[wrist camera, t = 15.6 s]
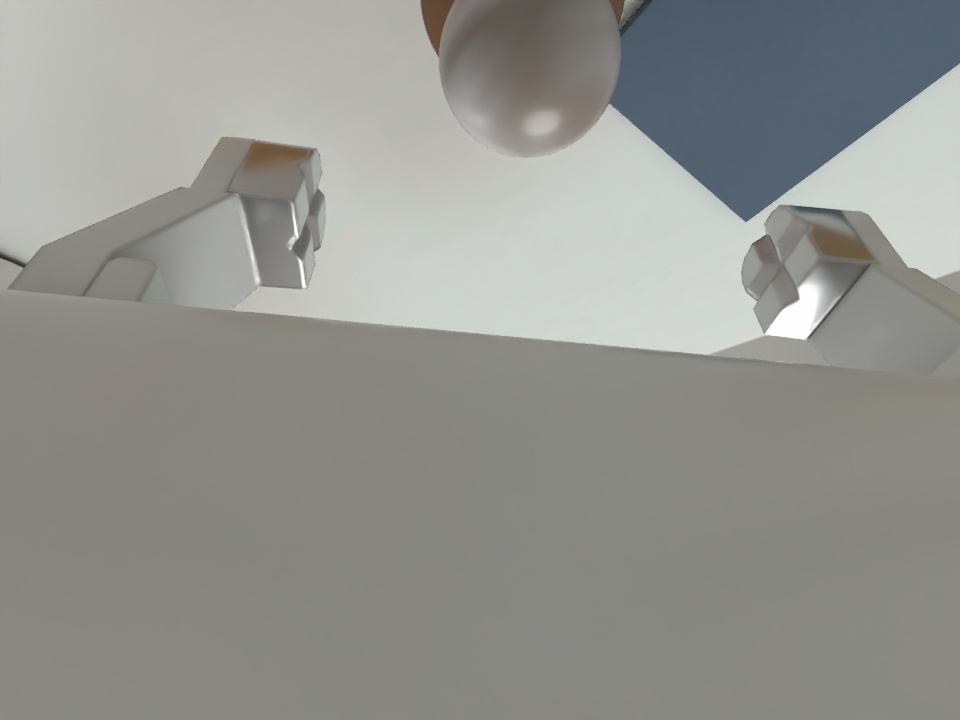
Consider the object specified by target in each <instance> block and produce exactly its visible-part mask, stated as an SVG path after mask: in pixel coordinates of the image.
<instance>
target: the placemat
mask: <svg viewBox="0 0 960 720" xmlns="http://www.w3.org/2000/svg"><path fill="white" fill-rule="evenodd" d="M620 37H621V63H620V71H619V76H618V80H617V84H616V87H615V90H614V92H613V95H612V97H611V100H610V102H609V103H610V104H611V105H612V106H613V107H614V108H616V109H617V110H618V111H619V112H620V113H621V114H622V115H624V116H625V117H626V118H627V119H628V120H629V121H631V122H632V123H633V124H634V125H635V126H636V127H637V128H639V129H640V130H641V131H642V132H643V133H644V134H645V135H647V136H648V137H649V138H650V139H651V140H652V141H653V142H655V143H656V144H657V145H658V146H659V147H660V148H661V149H663V150H664V151H665V152H666V153H667V154H668V155H669V156H671V157H672V158H673V159H674V160H675V161H676V162H678V163H679V164H680V165H681V166H682V167H683V168H684V169H686V170H687V171H688V172H689V173H690V174H691V175H692V176H694V177H695V178H696V179H697V180H698V181H699V182H700V183H702V184H703V185H704V186H705V187H706V188H707V189H708V190H710V191H711V192H712V193H713V194H714V195H715V196H716V197H718V198H719V199H720V200H721V201H722V202H723V203H724V204H726V205H727V206H728V207H729V208H730V209H731V210H733V211H734V212H735V213H736V214H737V215H738V216H739V217H741V218H742V219H743V220H744V221H745V222H747V221H748V220H750V219H751V218H752V217H754V216H755V215H756V214H758V213H759V212H760V211H762V210H763V209H764V208H766V207H767V206H768V205H770V204H771V203H773V202H774V201H775V200H777V199H778V198H779V197H781V196H782V195H783V194H785V193H786V192H787V191H789V190H790V189H791V188H793V187H794V186H795V185H797V184H798V183H799V182H801V181H802V180H803V179H805V178H806V177H807V176H809V175H810V174H812V173H813V172H814V171H816V170H817V169H818V168H820V167H821V166H822V165H824V164H825V163H826V162H828V161H829V160H830V159H832V158H833V157H834V156H836V155H837V154H838V153H840V152H841V151H842V150H844V149H845V148H846V147H848V146H849V145H851V144H852V143H853V142H855V141H856V140H857V139H859V138H860V137H861V136H863V135H864V134H865V133H867V132H868V131H869V130H871V129H872V128H873V127H875V126H876V125H877V124H879V123H880V122H881V121H883V120H884V119H885V118H887V117H888V116H890V115H891V114H892V113H894V112H895V111H896V110H898V109H899V108H900V107H902V106H903V105H904V104H906V103H907V102H908V101H910V100H911V99H912V98H914V97H915V96H916V95H918V94H919V93H920V92H922V91H923V90H925V89H926V88H927V87H929V86H930V85H931V84H933V83H934V82H935V81H937V80H938V79H939V78H941V77H942V76H943V75H945V74H946V73H947V72H949V71H950V70H951V69H953V68H954V67H955V66H957V65H958V64H959V63H960V0H647V1H646V2H645V3H644V4H643V5H642V6H641V8H640V9H639V10H638V11H637V12H636V13H635V14H634V16H633V17H632V18H631V19H630V20H629V21H628V22H627V24H626V25H625V26H624V27H623V28H622V29H621V30H620Z"/></svg>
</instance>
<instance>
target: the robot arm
mask: <svg viewBox="0 0 960 720" xmlns="http://www.w3.org/2000/svg"><path fill="white" fill-rule="evenodd" d="M321 175H322V168H321V160H320V154H319V152H318V149H317V148H310V147H303V146H295V145H288V144H281V143H274V142H267V141H259V140H257V141H256V140H254V139H246V138H236V137H222V138H221V139H220V140H219V142H218V143H217V145H216V146H215V148H214V150H213V151H212V153H211V155H210V156H209V158H208V159H207V161H206V163H205V164H204V166H203V168H202V169H201V171H200V172H199V174H198V176H197V177H196V179H195V181H194V182H193V184H192V185H191V187H190V188H185V187H179V188H177V189H175V190H172V191H170V192H168V193H165V194H163V195H161V196H158V197H156V198H154V199H151V200H149V201H147V202H144V203H142V204H140V205H137V206H135V207H133V208H130V209H128V210H126V211H123V212H121V213H119V214H116V215H114V216H112V217H109V218H107V219H105V220H102V221H100V222H98V223H95V224H93V225H91V226H88V227H86V228H84V229H81V230H79V231H77V232H74V233H72V234H70V235H67V236H65V237H63V238H60V239H58V240H56V241H53V242H51V243H49V244H46V245H44V246H42V247H41V248H40V249H39V250H38V251H37V253H36V254H35V255H34V256H33V258H32V259H31V260H30V261H29V262H28V264H27V265H26V266H25V267H24V268H23V267H21V266H19V265H16V264H14V263H12V262H10V261H7V260H5V259H2V258H0V720H960V295H959V294H957V293H956V292H954V291H952V290H951V289H949V288H947V287H946V286H944V285H942V284H941V283H939V282H937V281H936V280H934V279H932V278H931V277H929V276H927V275H926V274H924V273H922V272H921V271H919V270H917V269H914V268H908V267H907V266H906V264H905V263H904V262H903V260H902V259H901V258H900V256H899V255H898V254H897V252H896V251H895V249H894V248H893V247H892V245H891V244H890V243H889V241H888V240H887V239H886V237H885V236H884V235H883V233H882V232H881V231H880V229H879V228H878V227H877V225H876V224H875V223H874V221H873V220H872V218H871V217H870V216H869V215H868V214H865V213H863V212H861V211H847V210H835V209H825V208H814V207H803V206H792V205H779V206H778V207H777V208H776V209H775V210H774V211H773V212H772V213H771V214H770V216H769V217H768V219H767V220H766V222H765V224H764V225H765V231H766V235H765V236H764V237H762V238H760V239H759V240H757V241H756V242H754V243H753V244H752V245H751V247H750V249H749V251H748V252H747V254H746V256H745V258H744V262H743V267H742V272H741V274H742V283H743V286H744V288H745V291H746V292H747V293H748V294H749V295H750V296H752V297H753V298H754V299H755V300H756V301H757V303H756V305H755V307H754V308H753V309H754V312H755V314H756V316H757V318H758V321H759V323H760V325H761V328H762V330H763V332H764V334H766V335H774V336H783V337H791V338H799V339H807V340H808V341H807V342H808V343H809V344H810V345H811V346H812V347H813V348H814V349H815V350H816V351H817V352H818V353H819V354H820V355H821V356H822V357H823V358H824V359H825V360H827V362H829V364H830V365H832V366H833V367H832V366H820V365H809V364H799V363H789V362H778V361H767V360H756V359H746V358H735V357H724V356H714V355H703V354H692V353H681V352H671V351H660V350H649V349H639V348H628V347H617V346H607V345H596V344H585V343H574V342H564V341H553V340H542V339H532V338H521V337H510V336H500V335H489V334H478V333H468V332H457V331H446V330H436V329H425V328H414V327H403V326H393V325H382V324H371V323H361V322H350V321H339V320H329V319H318V318H307V317H297V316H286V315H275V314H265V313H254V312H243V311H232V310H231V309H232V308H233V307H235V306H236V305H237V304H238V303H240V302H241V301H242V300H243V299H245V298H246V297H247V296H248V295H249V294H251V293H252V292H253V291H254V290H256V289H257V286H265V287H279V288H292V289H306V290H307V289H308V286H309V283H310V280H311V277H312V273H313V270H314V267H315V257H314V251H316V250H318V249H319V248H320V247H321V244H322V240H323V237H324V228H325V198H324V195H323V194H322V192H321V191H320V190H319V189H318V188H317V187H318V184H319V181H320V178H321Z"/></svg>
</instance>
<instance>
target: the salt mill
mask: <svg viewBox="0 0 960 720" xmlns="http://www.w3.org/2000/svg"><path fill="white" fill-rule="evenodd" d="M624 1H625V0H421V9H422V15H423V20H424V24H425V28H426V31H427V34H428V37H429V39H430V42H431V44H432V46H433V48H434V50H435V52H436V54H437V55H438V57H439V69H440V76H441V82H442V87H443V90H444V94H445V97H446V99H447V102H448V104H449V106H450V108H451V110H452V112H453V114H454V115H455V117H456V119H457V120H458V121H459V123H460V124H461V125H462V127H463V128H464V129H465V130H466V131H467V132H468V133H469V134H470V135H471V136H472V137H473V138H474V139H476V140H477V141H478V142H479V143H481V144H483V145H484V146H486V147H487V148H489V149H492V150H494V151H496V152H498V153H501V154H505V155H508V156H513V157H522V158H528V157H540V156H545V155H549V154H552V153H555V152H558V151H560V150H562V149H564V148H566V147H568V146H570V145H572V144H573V143H575V142H576V141H577V140H579V139H580V138H581V137H583V136H584V135H585V134H586V133H587V132H588V131H589V130H590V129H591V128H592V127H593V126H594V125H595V124H596V122H597V121H598V120H599V118H600V117H601V116H602V114H603V112H604V111H605V109H606V107H607V106H608V104H609V102H610V100H611V97H612V95H613V92H614V90H615V87H616V84H617V80H618V76H619V71H620V63H621V37H620V32H619V26H618V24H619V21H620V18H621V15H622V11H623V6H624Z"/></svg>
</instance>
